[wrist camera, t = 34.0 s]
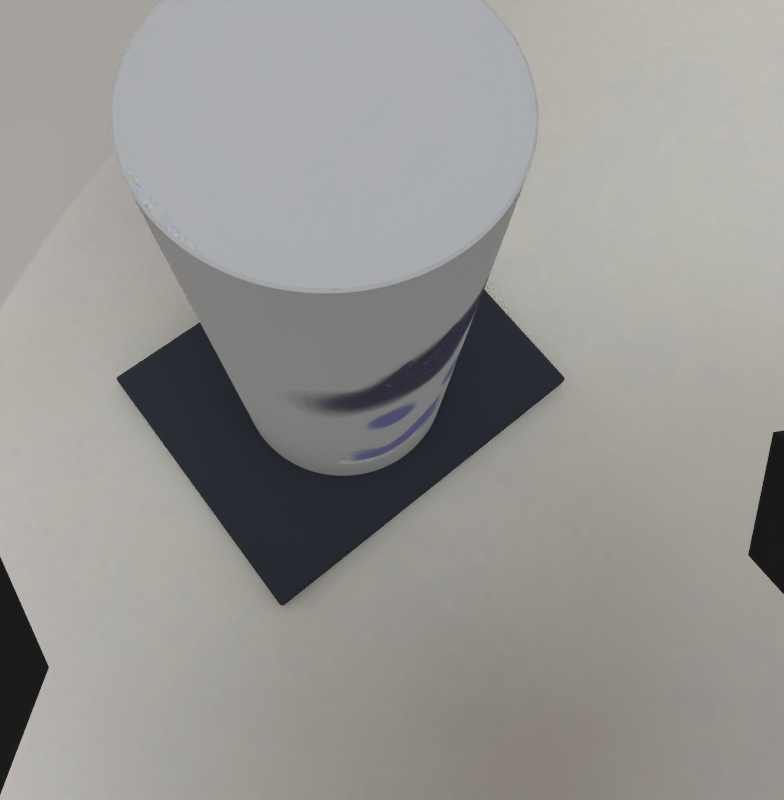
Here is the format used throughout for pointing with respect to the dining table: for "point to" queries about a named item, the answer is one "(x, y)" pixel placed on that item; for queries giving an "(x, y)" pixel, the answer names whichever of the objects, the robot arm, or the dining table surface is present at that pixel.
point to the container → (328, 199)
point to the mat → (314, 492)
